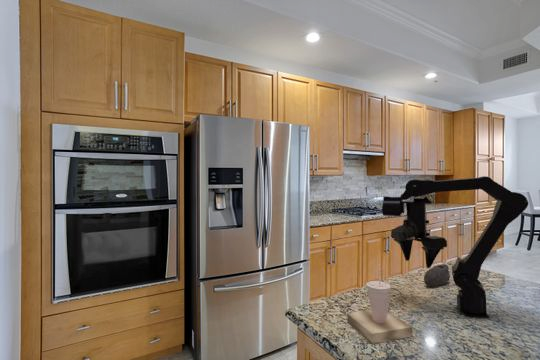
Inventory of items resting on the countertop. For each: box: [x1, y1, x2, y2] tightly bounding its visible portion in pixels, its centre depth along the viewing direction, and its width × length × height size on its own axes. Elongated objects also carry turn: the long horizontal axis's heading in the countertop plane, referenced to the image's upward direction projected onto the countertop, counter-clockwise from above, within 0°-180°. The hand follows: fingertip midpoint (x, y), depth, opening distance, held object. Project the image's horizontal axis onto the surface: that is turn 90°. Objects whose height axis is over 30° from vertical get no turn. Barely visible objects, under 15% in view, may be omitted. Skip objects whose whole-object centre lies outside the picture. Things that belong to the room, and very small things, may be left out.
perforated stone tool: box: [423, 263, 451, 288], centre depth 111 cm, size 15×5×7 cm, turn 119°
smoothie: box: [366, 268, 392, 323], centre depth 78 cm, size 6×6×14 cm
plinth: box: [346, 309, 413, 345], centre depth 78 cm, size 12×12×2 cm
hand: (417, 264), depth 94 cm, fingers open, 9 cm apart
